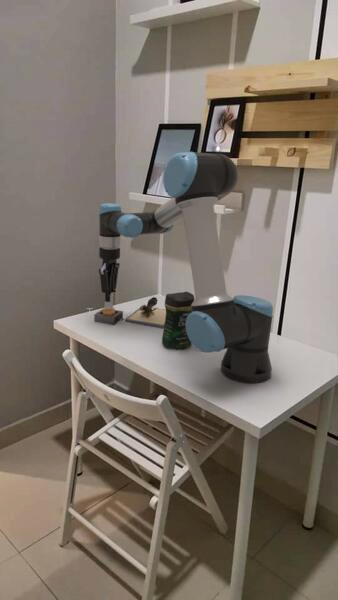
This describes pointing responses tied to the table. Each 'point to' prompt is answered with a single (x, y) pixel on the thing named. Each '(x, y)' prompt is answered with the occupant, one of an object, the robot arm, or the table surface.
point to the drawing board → (148, 318)
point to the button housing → (108, 317)
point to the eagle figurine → (149, 306)
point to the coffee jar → (177, 320)
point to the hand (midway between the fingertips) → (108, 309)
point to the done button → (109, 312)
